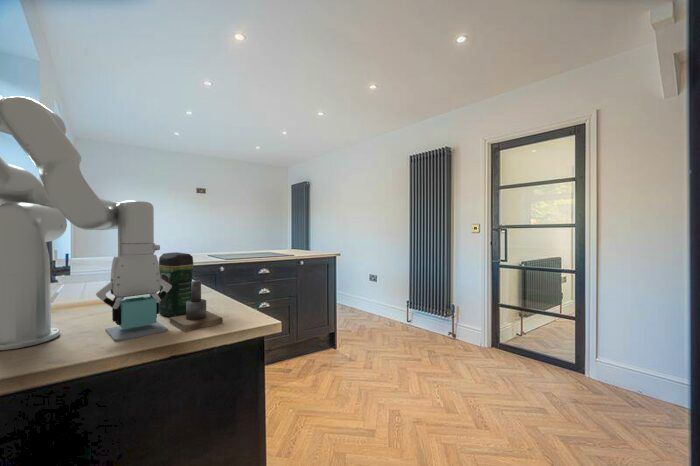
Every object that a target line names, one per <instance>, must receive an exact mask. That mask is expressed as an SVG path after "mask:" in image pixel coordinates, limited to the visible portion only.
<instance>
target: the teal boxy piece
mask: <svg viewBox="0 0 700 466" xmlns="http://www.w3.org/2000/svg"><path fill="white" fill-rule="evenodd" d="M120 308H121V325H118V326H120V327H121V328H122V329H128V328H133V327H138V326H143V325H149V324H154V323H157V322H158V321H157V318H158V314H157V313H156V299H155V298H153V297H151V296H150V295H149V294H147V295H139V296H131V297H124V299H123V300H122V302H121V304H120Z"/></svg>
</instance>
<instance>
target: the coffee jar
mask: <svg viewBox="0 0 700 466" xmlns="http://www.w3.org/2000/svg"><path fill="white" fill-rule="evenodd" d="M158 264H159V271H160V278H161V279H163V280H164V281H166V282H167V283H169V284H170V285H172V288H171V289H170V290H169V291H168V292H167V293H166V295H165V296H164V297H163V298H162V299H161V301H160V302H159V314H160V315H161V316H167V317H170V318H171V317H176V316H182V315H186V302H187V301H189V300H191V281H193V270H194V264H195V263H194V257H193V255H191V254H190V253H185V252H184V253H183V252H178V251H177V252H176V251H175V252H165V253H162V254H161V255H160V256H159V258H158ZM162 289H163V286H162V285H160V290H159V292H160V291H162Z"/></svg>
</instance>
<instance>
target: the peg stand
mask: <svg viewBox="0 0 700 466" xmlns="http://www.w3.org/2000/svg"><path fill="white" fill-rule="evenodd" d="M169 323H170V324H171V325H172V326H174V327H176V328H177V329H178V330H180V331H182V332H188V331H193V330H198V329H201V328H207V327H212V326H215V325H219V324H223V317H222V316H220V315H217V314H215V313H214V312H211V311H208V310H207V300H206V299H205V298H204V299H202V281H201V280H192V281H191V300H189V301H187V302H186V315H182V316H174V317H171V316H170V317H169Z"/></svg>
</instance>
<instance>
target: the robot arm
mask: <svg viewBox="0 0 700 466" xmlns="http://www.w3.org/2000/svg"><path fill="white" fill-rule="evenodd" d="M0 132H1V133H4V134H7V135H10V136H12V138H14V140H15V141H16V143H18V145H19V146H20V148H21V149H22V150H23V151H24V152H25V154H26V155H27V156H28V158H29V160H31V162H32V163H33V164H34V166H35V167H36V169H37V170H38V172H39V177H40V180H41V181H40V180H39V179H38V178H37V177H36V176H35V175H34V174H33V173H32V172H30V171H29V170H27V169H25V168H22V167H20V166H16V165H13V164H10V163H8V162H7V161H5V160H3V159H2V157H1V156H0V351H6V350H7V351H8V350H9V351H10V350H15V349H22V348H26V347H31V346H35V345H39V344H43V343H45V342H46V343H47V342H49V341H51V340H54V339H56V338H57V337H58V336H59V335H60V334H61V333H60V332H61V330H60V328H57V327H52V320H51V319H52V318H51V317H52V316H51V315H52V304H51V258H50V253H49V249H48V246H47V243H48V242H52V241H56V240H57V239H60V238H61V237H62V236H63V235H64V234H65V232H66V230H67V227H68V222H69V223H71V224H72V225H73V226H75V227H76V228H78V229H81V230H85V231H107V230H116V229H117V256H113V258H112V263H111V269H110V281H109V283H107V284H105V286H104V287H102V288H100V290H98V291H97V292H96V293H95V296H96V297H97V298H98V299H100V300H101V301H102V302H104V304H106V305H107V306H109V307H111V308H112V309H111V310H112V311H111V313H112V315H111V316H112V322H115V324H116V325H117V326H119V325H121V308H120V304H121V302H122V300H123V299H124V298H130V297H138V296H145V295H149V296H151V297H153V298H155V299H156V313H157V315H159V314H160V313H159V302H160V301H161V299H162V298H163V297H164V296H165V295H166V293H167V292H168V291H169V290H170V289H171V288H172V285H170V284H169V283H167V282H166V281H164V280H163V279H161V278H160V271H159V258H158V255H157V254H155V252H156V251H160V250H161V245H160V244H156V243H155V239H154V238H155V236H154V235H155V231H154V229H155V227H154V226H155V224H154V223H155V222H154V220H155V219H154V218H155V217H154V216H155V211H154V206H153V204H152V203H151V202H149V201H141V200H123V201H120V202H119V201H113V200H112V201H111V200H107V199H104V198H100V197H98V195H97V194H96V193H95V191H94V190H93V189H92V187H91V186H90V185H89V183H88V182H87V181H86V179H85V177H84V175H83V174H82V172H81V168H80V165H81V162H82V155H81V154H80V153H79V151H78V150H77V148H76V147H75V146H74V145H73V143H72V142H71V140H70V139H69V138H68V136H67V135H66V134H67V133H66V132H67V128H66V124H65V121H64V120H63V119H62V118H61V116H60V115H58V114H57V113H56V112H54V111H53V110H51V109H50V108H48V107H47V106H45V105H44V104H42V103H40V102H39V101H37V100H36V99H33V98H30V97H27V96H26V97H25V96H20V95H17V96H16V95H15V96H14V95H13V96H9V97H4V96H2V95H0ZM160 285H162V286H163V289H162V291H160ZM109 292H110V294H111V295H113V296H114V297H113V299H111V298H109V297H108V296H107V293H109Z"/></svg>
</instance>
